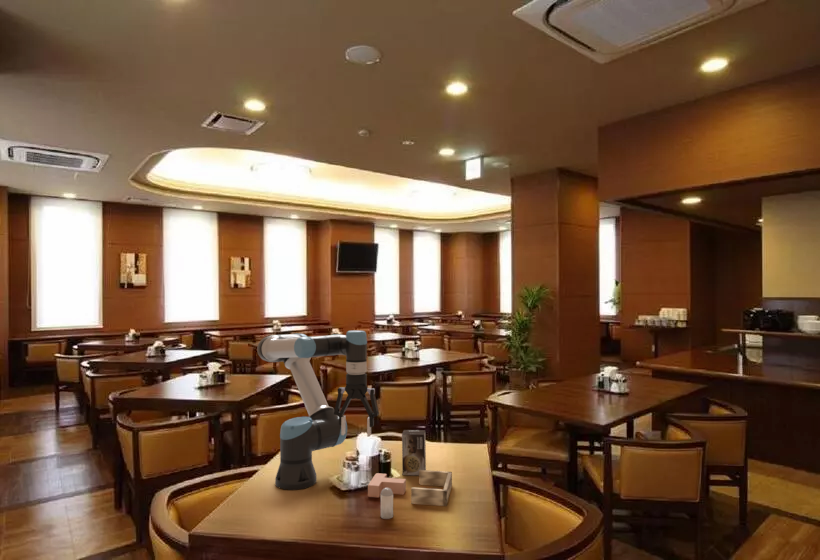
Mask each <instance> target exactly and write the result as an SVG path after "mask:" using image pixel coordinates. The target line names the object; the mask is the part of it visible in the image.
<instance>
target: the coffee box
mask: <svg viewBox="0 0 820 560" xmlns="http://www.w3.org/2000/svg"><path fill="white" fill-rule="evenodd" d="M401 446H402V447H401V448H402V449H401V450H402V451H401V453H402V457H401V458H402V459H401V460H402V462H401V463H402V464H401V465H402V466H401V467H402V471H401V472H402V474H401V475H402V476H419V471H420V470H427V466H426V465H427V463H426V461H427V460H426V457H427V455H426V450H427V449H426V430H424V429H403V431H402V433H401Z"/></svg>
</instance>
